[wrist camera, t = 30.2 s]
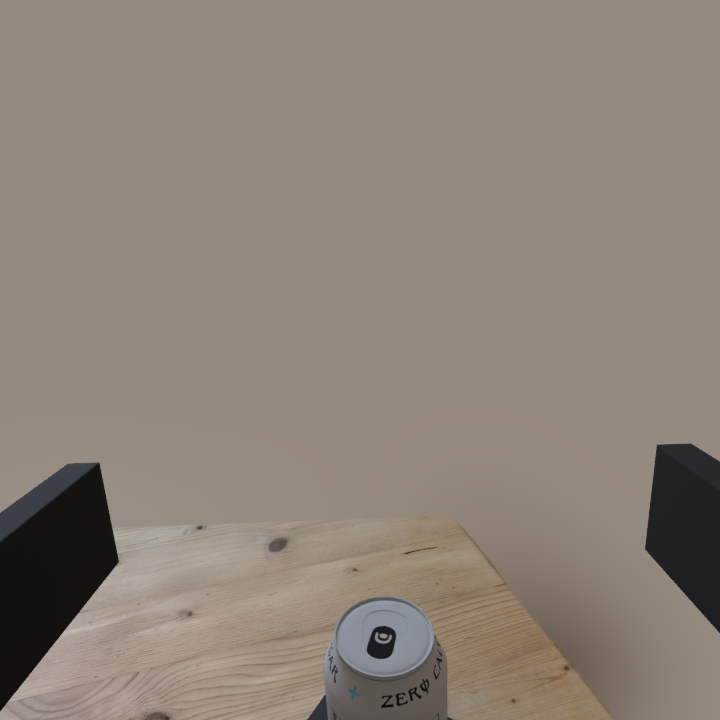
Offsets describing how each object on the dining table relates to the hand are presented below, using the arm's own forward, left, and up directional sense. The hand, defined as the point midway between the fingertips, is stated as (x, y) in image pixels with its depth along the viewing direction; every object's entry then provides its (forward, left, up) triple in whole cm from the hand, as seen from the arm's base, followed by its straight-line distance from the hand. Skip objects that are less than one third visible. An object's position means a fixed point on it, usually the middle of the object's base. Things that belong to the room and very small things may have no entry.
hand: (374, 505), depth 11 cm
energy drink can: (+8, +4, -27) cm, 29 cm away
